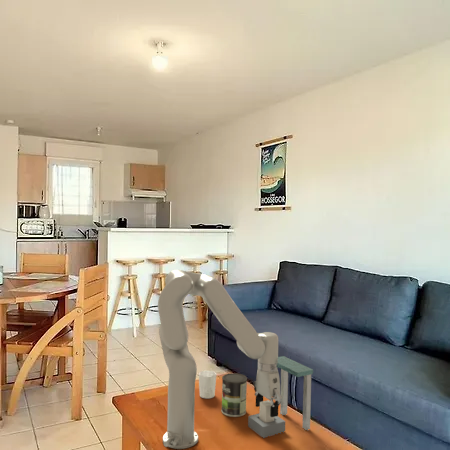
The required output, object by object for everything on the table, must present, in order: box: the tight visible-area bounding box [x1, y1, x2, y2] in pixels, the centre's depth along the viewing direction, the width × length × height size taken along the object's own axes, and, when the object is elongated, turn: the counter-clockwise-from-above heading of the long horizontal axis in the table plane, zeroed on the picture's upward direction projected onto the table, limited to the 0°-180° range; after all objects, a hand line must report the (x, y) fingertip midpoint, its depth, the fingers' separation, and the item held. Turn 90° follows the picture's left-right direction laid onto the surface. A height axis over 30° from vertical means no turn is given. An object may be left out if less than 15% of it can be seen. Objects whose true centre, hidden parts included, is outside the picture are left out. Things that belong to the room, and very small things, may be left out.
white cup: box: [198, 369, 217, 399], centre depth 193 cm, size 8×8×10 cm
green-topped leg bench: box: [278, 355, 314, 431], centre depth 168 cm, size 8×18×23 cm, turn 30°
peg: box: [258, 399, 274, 423], centre depth 163 cm, size 4×4×10 cm
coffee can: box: [221, 372, 248, 418], centre depth 177 cm, size 10×10×14 cm
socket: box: [247, 413, 286, 439], centre depth 163 cm, size 10×10×4 cm
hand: (266, 411), depth 163 cm, fingers open, 9 cm apart
